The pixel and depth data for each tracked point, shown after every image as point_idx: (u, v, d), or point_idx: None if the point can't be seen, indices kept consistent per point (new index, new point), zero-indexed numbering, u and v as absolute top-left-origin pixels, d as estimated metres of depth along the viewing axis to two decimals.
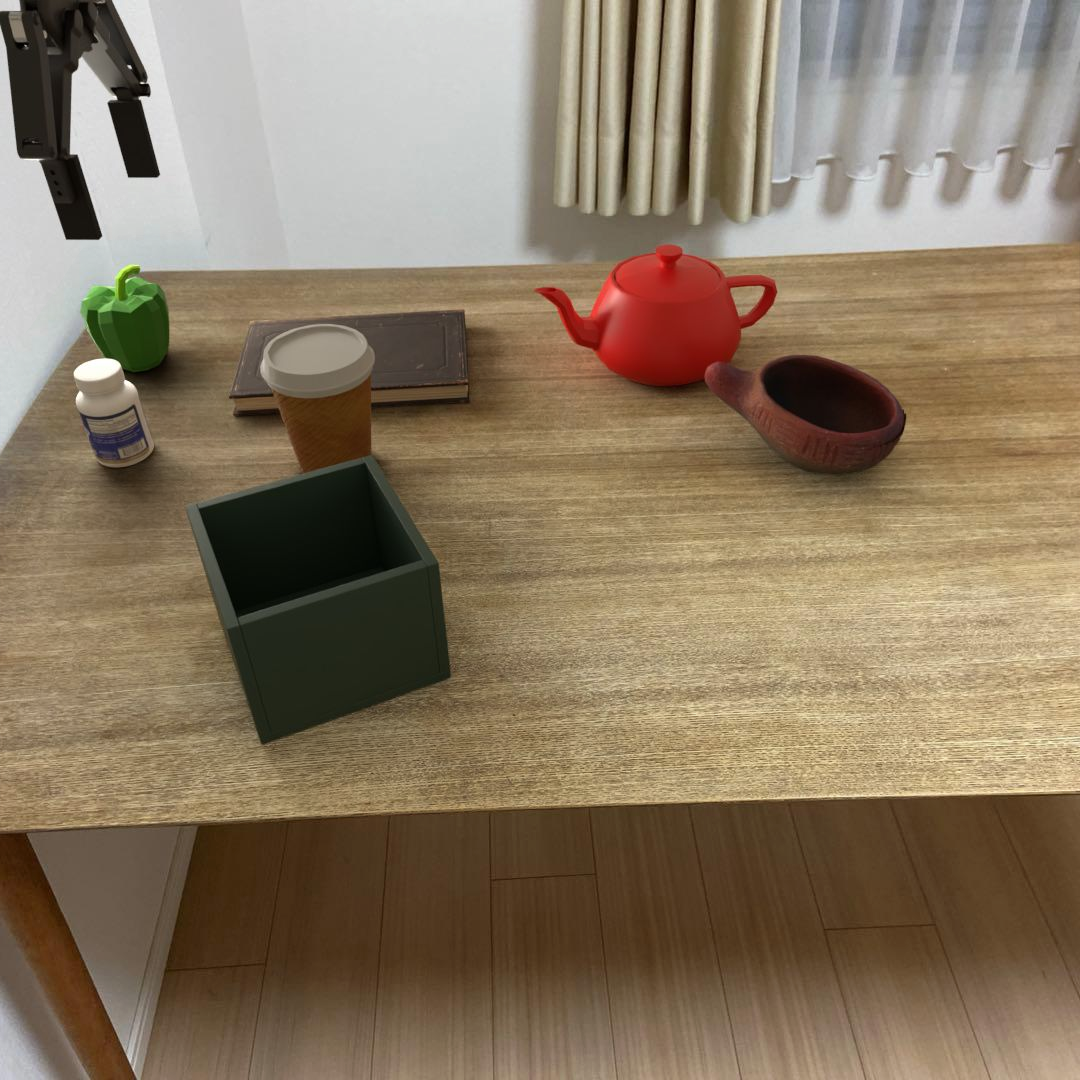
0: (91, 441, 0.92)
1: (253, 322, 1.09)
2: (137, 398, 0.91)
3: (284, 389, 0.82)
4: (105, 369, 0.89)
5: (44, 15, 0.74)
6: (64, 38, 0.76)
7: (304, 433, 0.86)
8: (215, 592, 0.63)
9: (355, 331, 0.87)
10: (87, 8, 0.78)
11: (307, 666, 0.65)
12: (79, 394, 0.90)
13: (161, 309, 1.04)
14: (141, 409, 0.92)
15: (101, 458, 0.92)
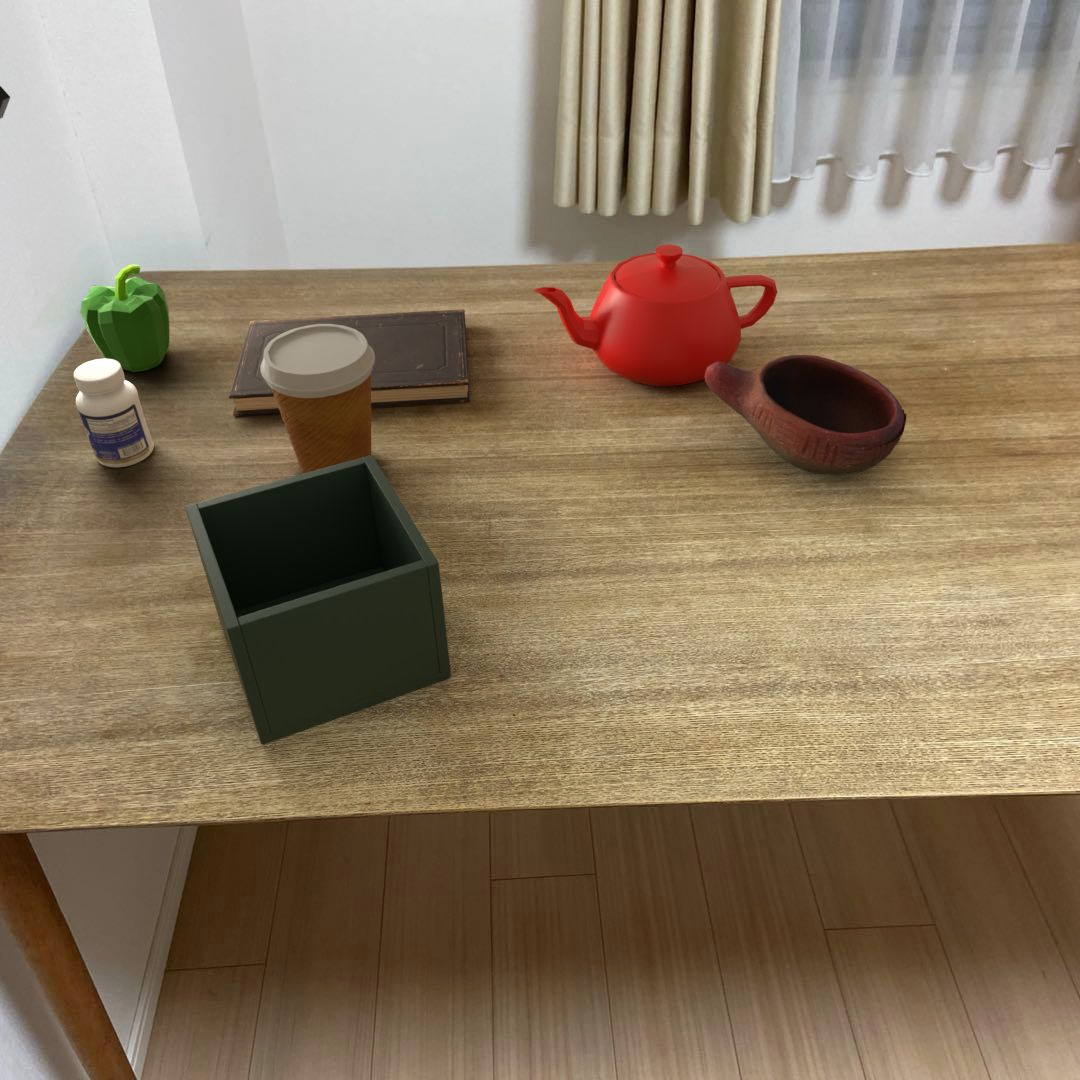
0: (91, 441, 0.92)
1: (253, 322, 1.09)
2: (137, 398, 0.91)
3: (284, 389, 0.82)
4: (105, 369, 0.89)
5: None
6: None
7: (304, 433, 0.86)
8: (215, 592, 0.63)
9: (355, 331, 0.87)
10: None
11: (307, 666, 0.65)
12: (79, 394, 0.90)
13: (161, 309, 1.04)
14: (141, 409, 0.92)
15: (101, 458, 0.92)
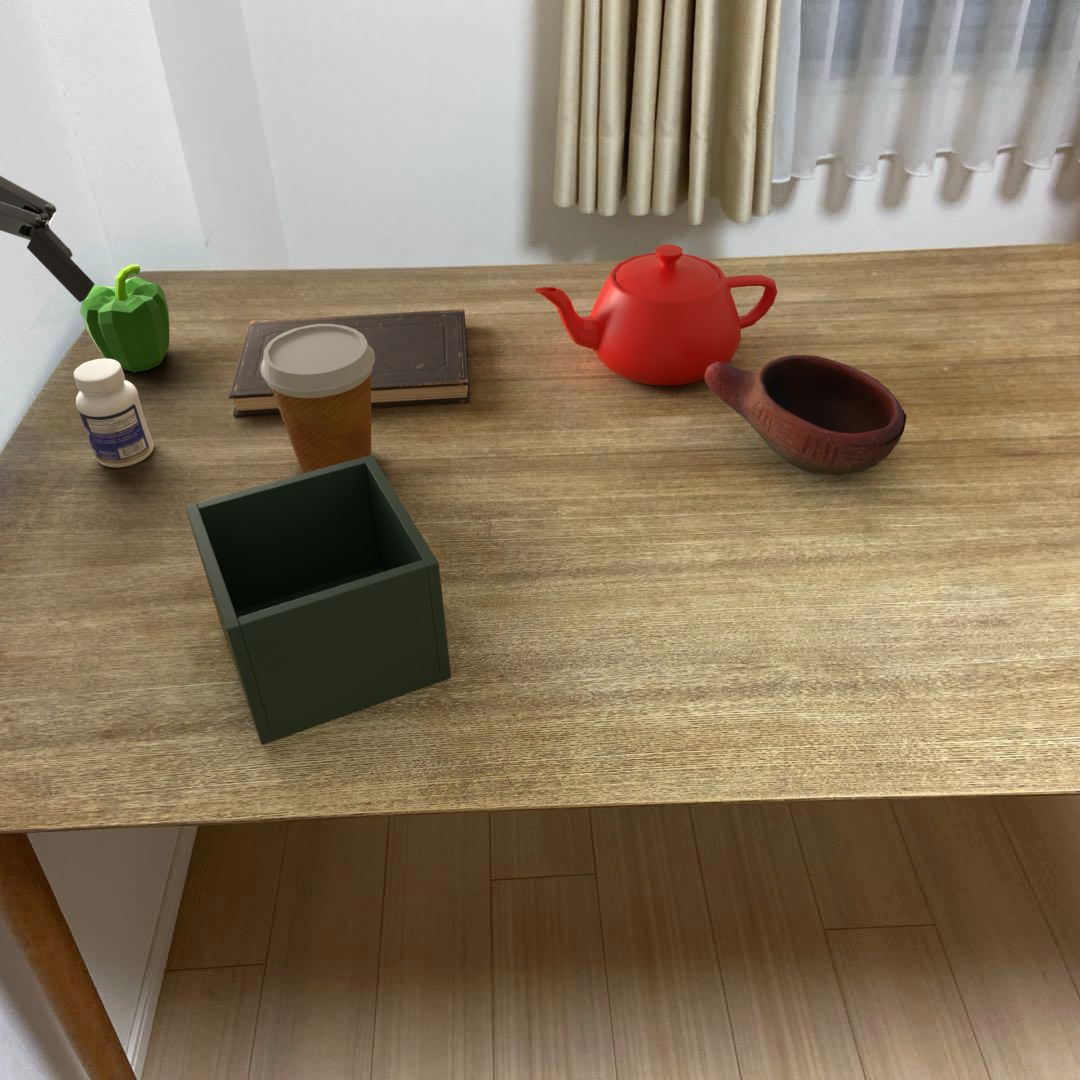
0: (91, 441, 0.92)
1: (253, 322, 1.09)
2: (137, 398, 0.91)
3: (284, 389, 0.82)
4: (105, 369, 0.89)
5: None
6: None
7: (304, 433, 0.86)
8: (215, 592, 0.63)
9: (355, 331, 0.87)
10: None
11: (307, 666, 0.65)
12: (79, 394, 0.90)
13: (161, 309, 1.04)
14: (141, 409, 0.92)
15: (101, 458, 0.92)
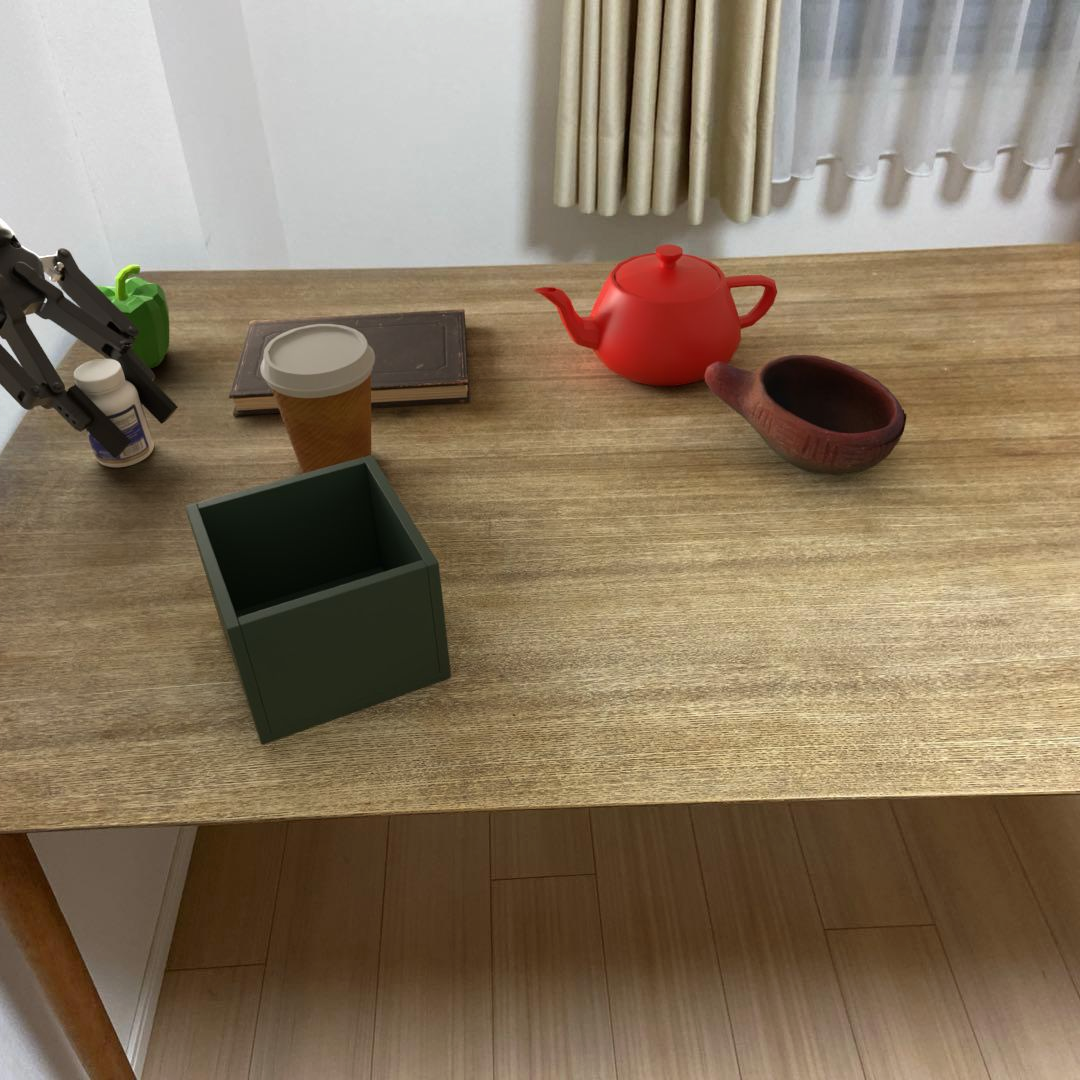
0: (91, 441, 0.92)
1: (253, 322, 1.09)
2: (137, 398, 0.91)
3: (284, 389, 0.82)
4: (105, 369, 0.89)
5: None
6: None
7: (304, 433, 0.86)
8: (215, 592, 0.63)
9: (355, 331, 0.87)
10: None
11: (307, 666, 0.65)
12: None
13: (161, 309, 1.04)
14: (141, 409, 0.92)
15: (101, 458, 0.92)
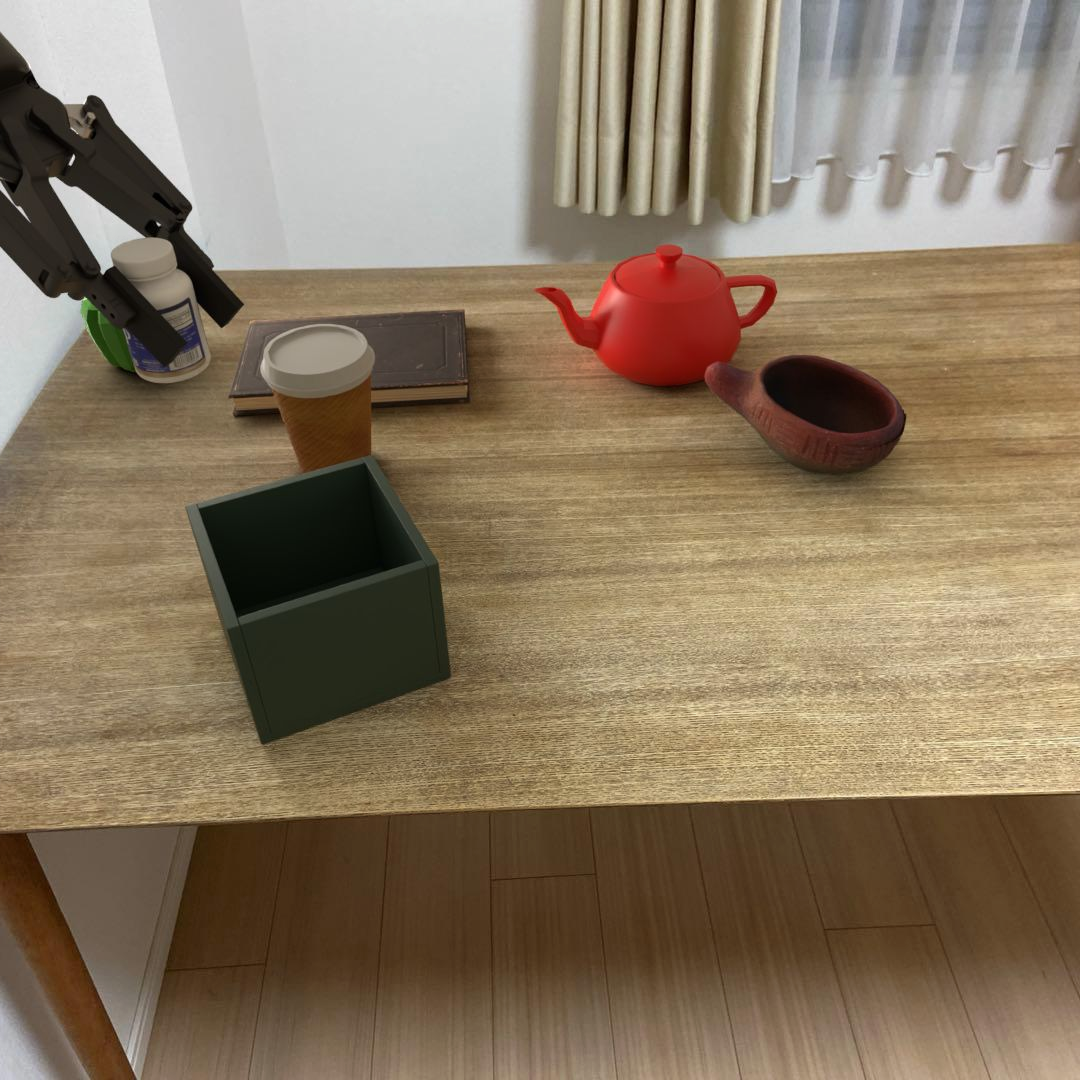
0: (132, 347, 0.70)
1: (253, 322, 1.09)
2: (192, 290, 0.70)
3: (284, 389, 0.82)
4: (152, 248, 0.68)
5: None
6: None
7: (304, 433, 0.86)
8: (215, 592, 0.63)
9: (355, 331, 0.87)
10: None
11: (307, 666, 0.65)
12: None
13: None
14: (197, 306, 0.71)
15: (144, 370, 0.71)
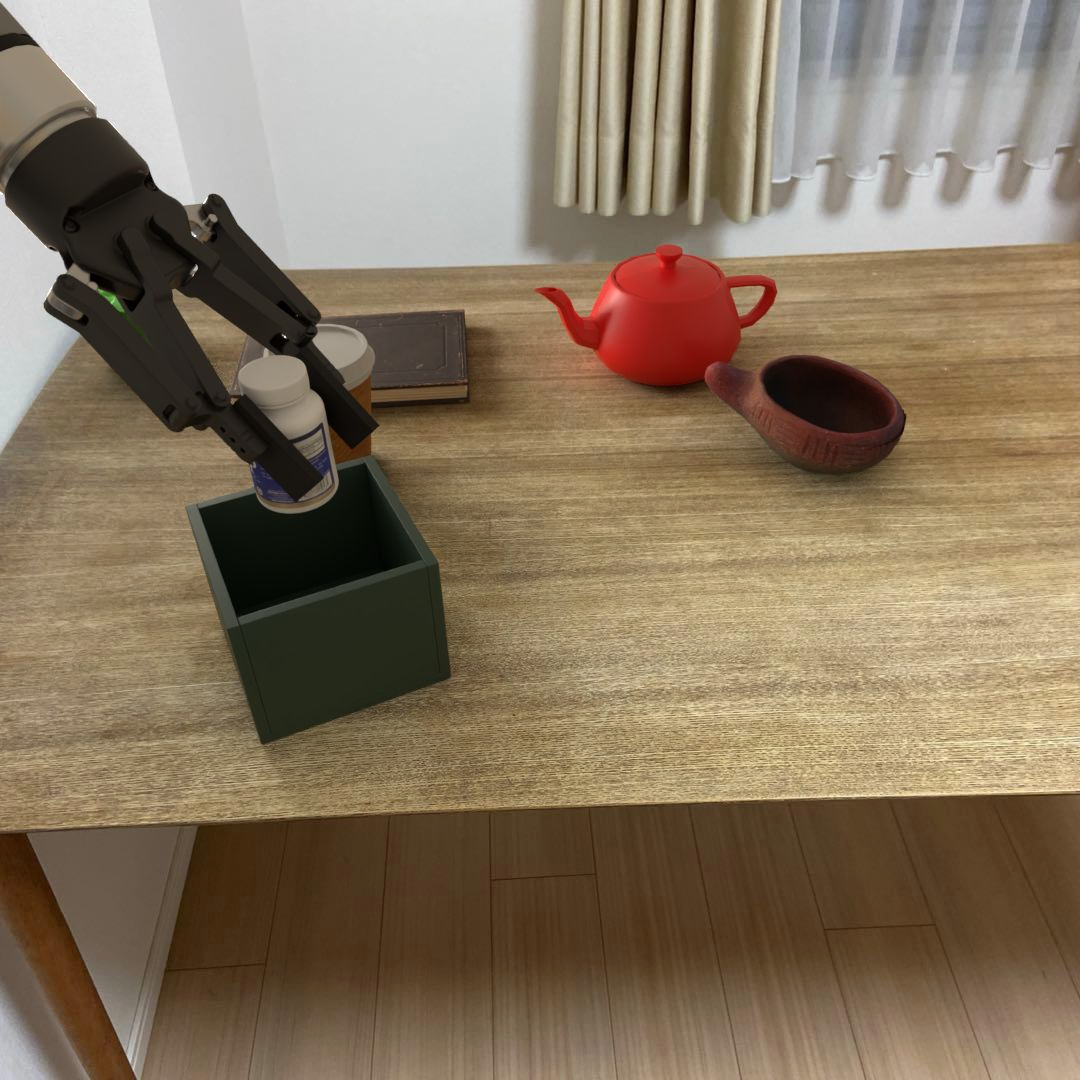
0: (256, 476, 0.63)
1: None
2: (325, 413, 0.62)
3: None
4: (284, 370, 0.60)
5: None
6: None
7: None
8: (215, 592, 0.63)
9: (355, 331, 0.87)
10: None
11: (307, 666, 0.65)
12: None
13: None
14: (328, 429, 0.63)
15: (269, 500, 0.63)
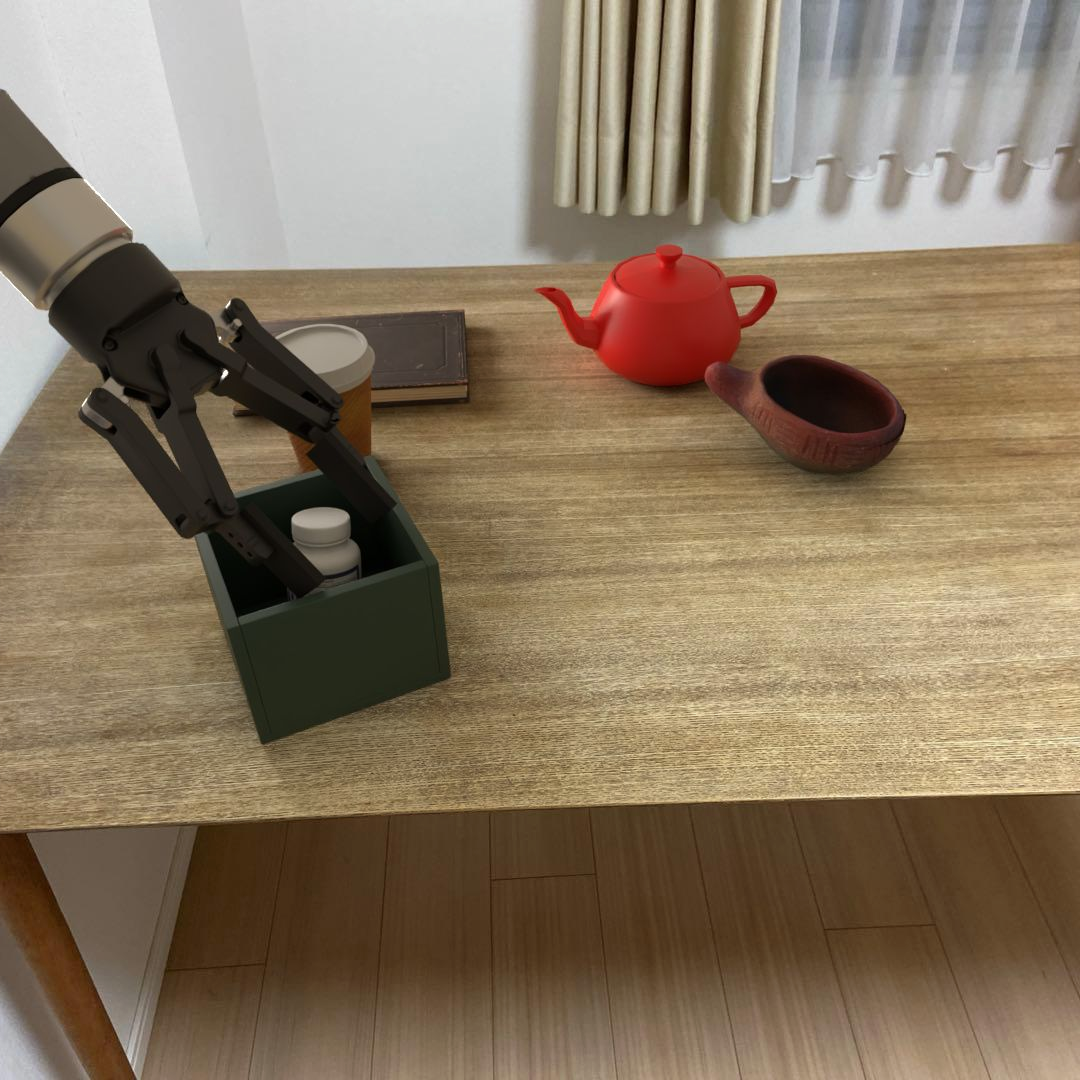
0: None
1: None
2: (360, 558, 0.72)
3: None
4: (331, 517, 0.70)
5: None
6: None
7: None
8: (215, 592, 0.63)
9: (355, 331, 0.87)
10: None
11: (307, 666, 0.65)
12: None
13: None
14: (361, 573, 0.72)
15: None
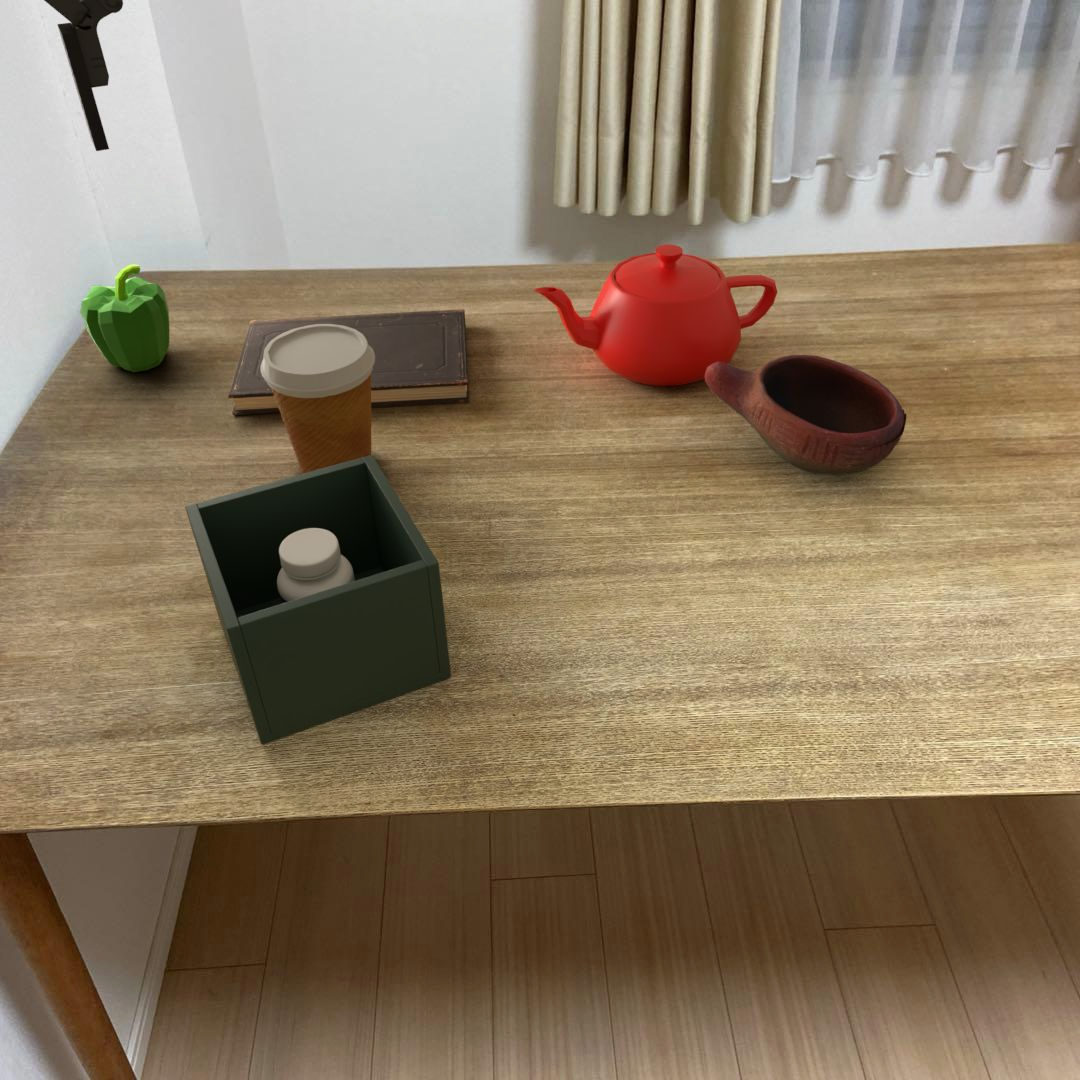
0: None
1: (253, 321, 1.09)
2: (353, 578, 0.71)
3: (284, 389, 0.82)
4: (319, 545, 0.69)
5: None
6: None
7: (304, 433, 0.86)
8: (215, 592, 0.63)
9: (355, 331, 0.87)
10: None
11: (307, 666, 0.65)
12: (282, 575, 0.70)
13: (161, 309, 1.04)
14: None
15: None
